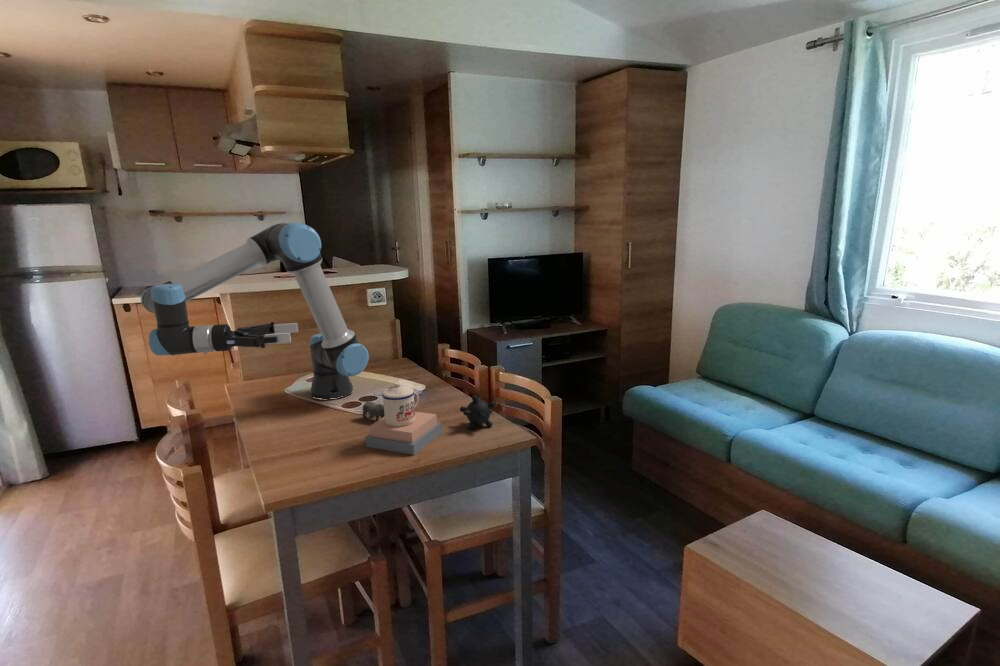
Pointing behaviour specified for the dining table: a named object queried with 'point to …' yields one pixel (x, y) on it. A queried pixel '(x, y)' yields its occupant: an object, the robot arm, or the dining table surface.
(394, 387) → the teacup with lid
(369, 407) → the rhino figurine
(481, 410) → the toy ball
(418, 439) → the brick plinth
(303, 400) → the dining table surface
